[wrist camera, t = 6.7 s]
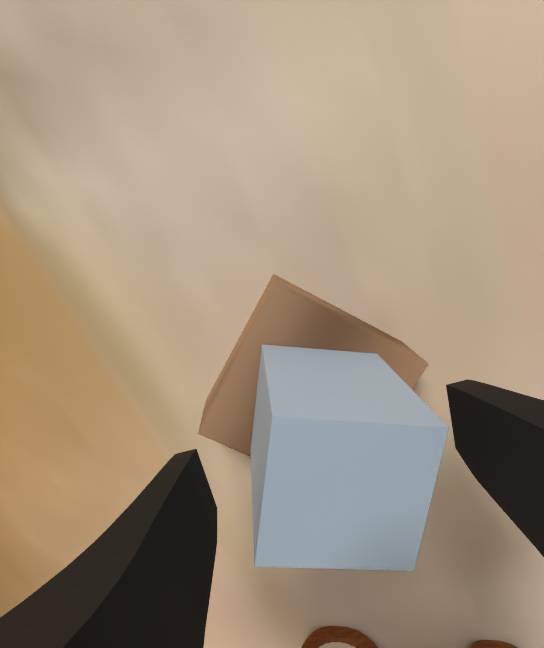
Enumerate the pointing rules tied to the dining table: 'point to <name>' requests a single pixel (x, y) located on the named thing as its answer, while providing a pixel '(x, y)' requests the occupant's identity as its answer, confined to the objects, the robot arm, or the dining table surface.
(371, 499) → the slate cube
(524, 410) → the robot arm
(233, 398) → the walnut slab
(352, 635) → the glasses
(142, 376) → the dining table surface
